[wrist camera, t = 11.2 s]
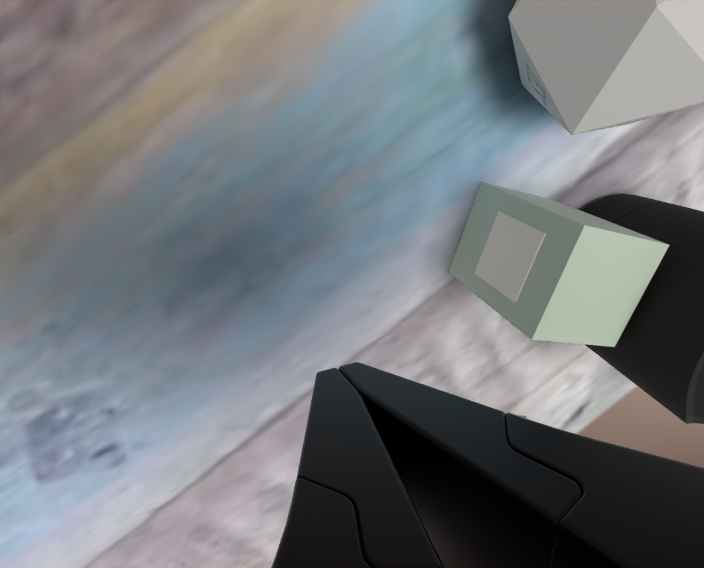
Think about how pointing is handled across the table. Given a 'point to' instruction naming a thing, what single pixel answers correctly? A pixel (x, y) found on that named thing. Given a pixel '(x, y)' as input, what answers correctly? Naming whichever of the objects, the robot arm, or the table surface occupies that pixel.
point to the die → (610, 58)
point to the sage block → (553, 266)
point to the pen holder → (664, 306)
